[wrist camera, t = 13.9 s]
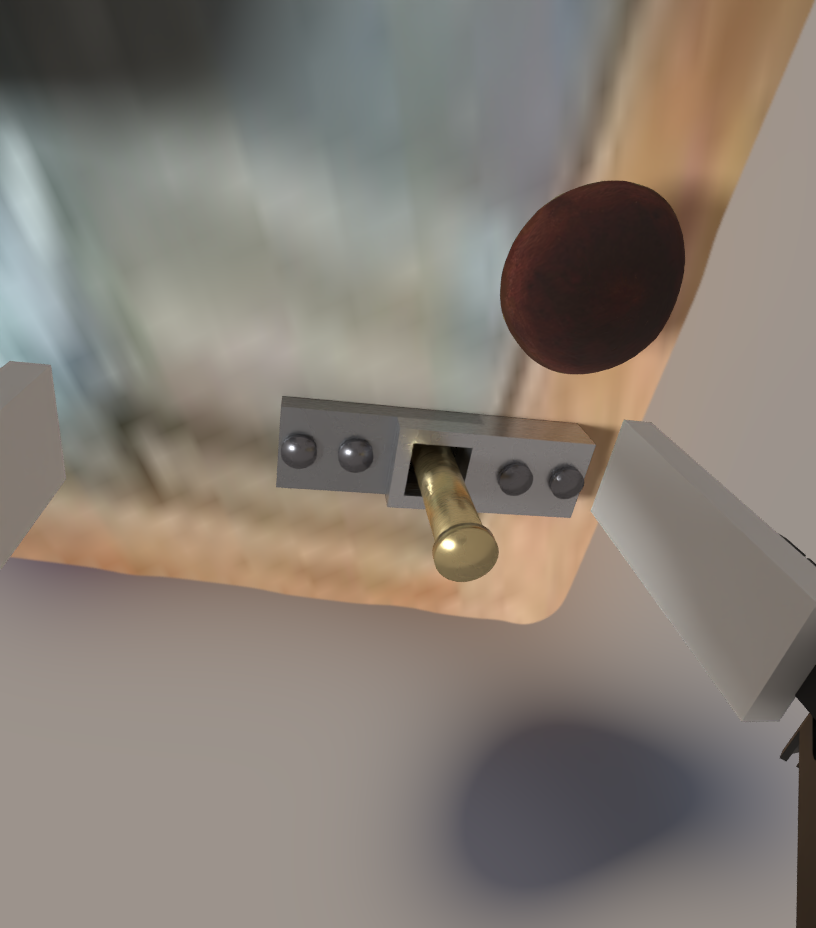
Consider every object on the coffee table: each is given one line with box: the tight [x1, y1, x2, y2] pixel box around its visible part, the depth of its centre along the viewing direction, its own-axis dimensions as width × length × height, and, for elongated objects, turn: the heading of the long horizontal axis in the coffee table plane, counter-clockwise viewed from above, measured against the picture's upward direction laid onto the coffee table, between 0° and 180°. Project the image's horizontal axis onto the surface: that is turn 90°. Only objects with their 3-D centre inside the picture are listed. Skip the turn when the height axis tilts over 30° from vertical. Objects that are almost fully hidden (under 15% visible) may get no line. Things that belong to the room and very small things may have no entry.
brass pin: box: [411, 443, 499, 582], centre depth 44 cm, size 4×4×15 cm
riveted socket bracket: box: [276, 396, 596, 518], centre depth 49 cm, size 25×7×5 cm, turn 81°
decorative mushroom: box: [500, 181, 685, 374], centre depth 37 cm, size 11×11×15 cm
